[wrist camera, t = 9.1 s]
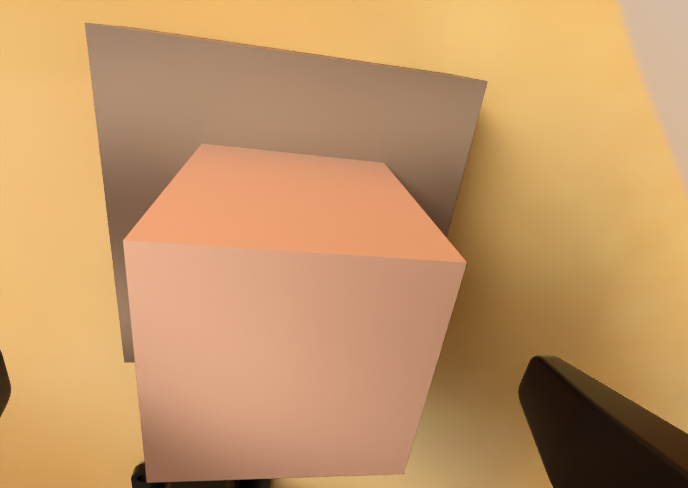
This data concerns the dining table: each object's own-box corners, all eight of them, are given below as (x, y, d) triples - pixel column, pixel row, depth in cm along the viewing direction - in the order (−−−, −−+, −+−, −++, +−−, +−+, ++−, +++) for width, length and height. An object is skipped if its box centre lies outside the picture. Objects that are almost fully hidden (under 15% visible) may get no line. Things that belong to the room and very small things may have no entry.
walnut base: (393, 318, 18) (412, 366, 15) (150, 309, 16) (124, 362, 14) (448, 73, 14) (487, 81, 11) (128, 27, 12) (84, 22, 9)
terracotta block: (357, 308, 14) (403, 474, 9) (203, 301, 13) (146, 482, 8) (383, 162, 12) (466, 262, 6) (201, 143, 11) (122, 240, 6)
